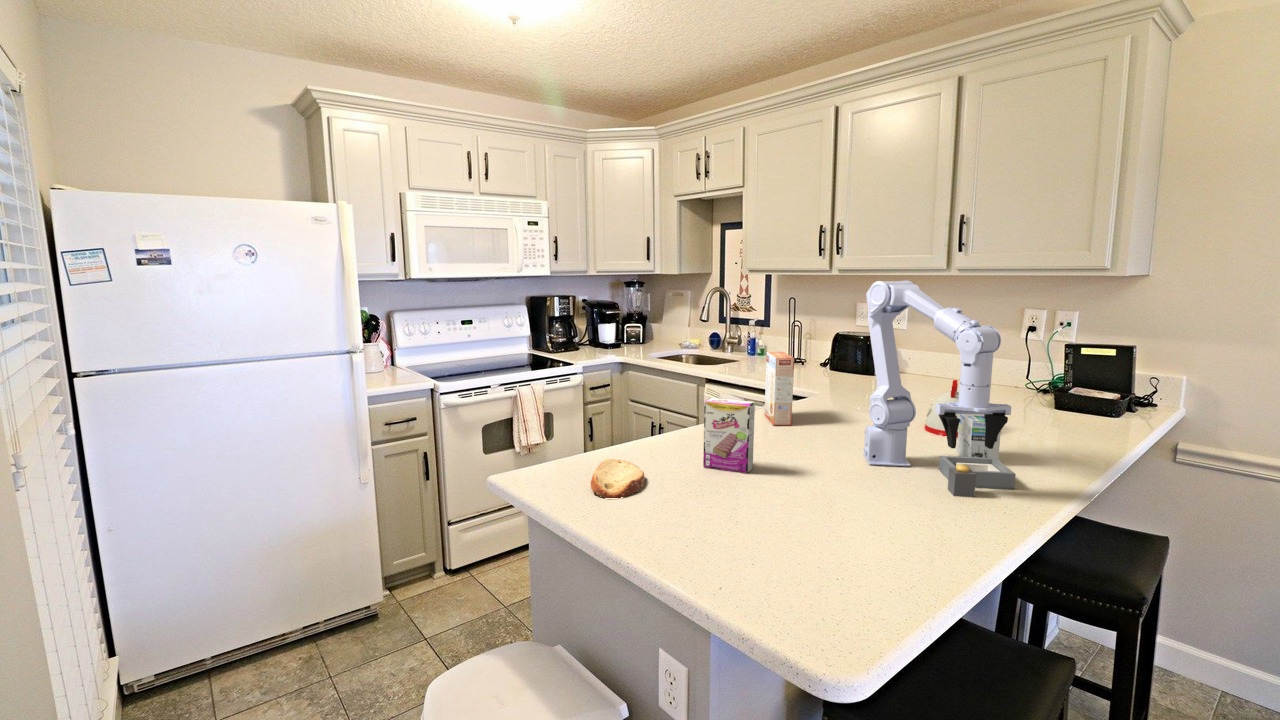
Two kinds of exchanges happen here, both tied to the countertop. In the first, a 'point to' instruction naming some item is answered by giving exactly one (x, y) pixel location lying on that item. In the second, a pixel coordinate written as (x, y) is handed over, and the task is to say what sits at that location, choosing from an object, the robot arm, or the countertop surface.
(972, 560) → the countertop surface
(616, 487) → the slice of bread
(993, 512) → the countertop surface
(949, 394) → the cream dome
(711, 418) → the candy bar box
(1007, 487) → the box
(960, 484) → the plug
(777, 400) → the cracker box
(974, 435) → the light bulb box
